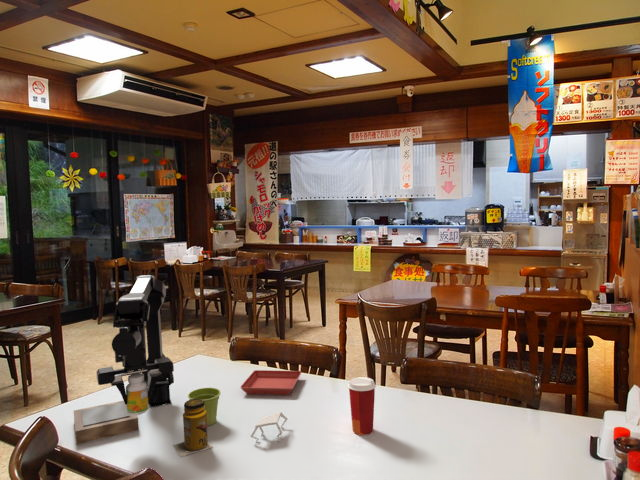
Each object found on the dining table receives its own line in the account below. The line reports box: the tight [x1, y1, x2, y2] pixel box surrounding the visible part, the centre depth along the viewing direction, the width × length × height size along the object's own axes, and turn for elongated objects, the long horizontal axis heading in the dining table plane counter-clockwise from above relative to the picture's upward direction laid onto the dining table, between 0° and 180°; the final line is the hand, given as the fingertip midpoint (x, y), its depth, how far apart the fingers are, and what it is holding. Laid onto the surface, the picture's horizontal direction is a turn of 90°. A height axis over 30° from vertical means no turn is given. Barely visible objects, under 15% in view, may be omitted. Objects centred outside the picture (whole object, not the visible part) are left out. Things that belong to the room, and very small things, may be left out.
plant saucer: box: [240, 369, 302, 396], centre depth 172 cm, size 18×18×3 cm
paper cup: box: [346, 376, 377, 436], centre depth 135 cm, size 8×8×14 cm
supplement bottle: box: [125, 373, 149, 416], centre depth 131 cm, size 5×5×10 cm
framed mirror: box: [73, 400, 140, 446], centre depth 143 cm, size 16×16×4 cm
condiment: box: [172, 399, 214, 457], centre depth 129 cm, size 7×8×12 cm
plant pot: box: [187, 387, 222, 426], centre depth 144 cm, size 9×9×9 cm
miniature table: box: [250, 412, 288, 443], centre depth 135 cm, size 12×8×5 cm
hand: (137, 401), depth 131 cm, fingers closed on supplement bottle, 5 cm apart
